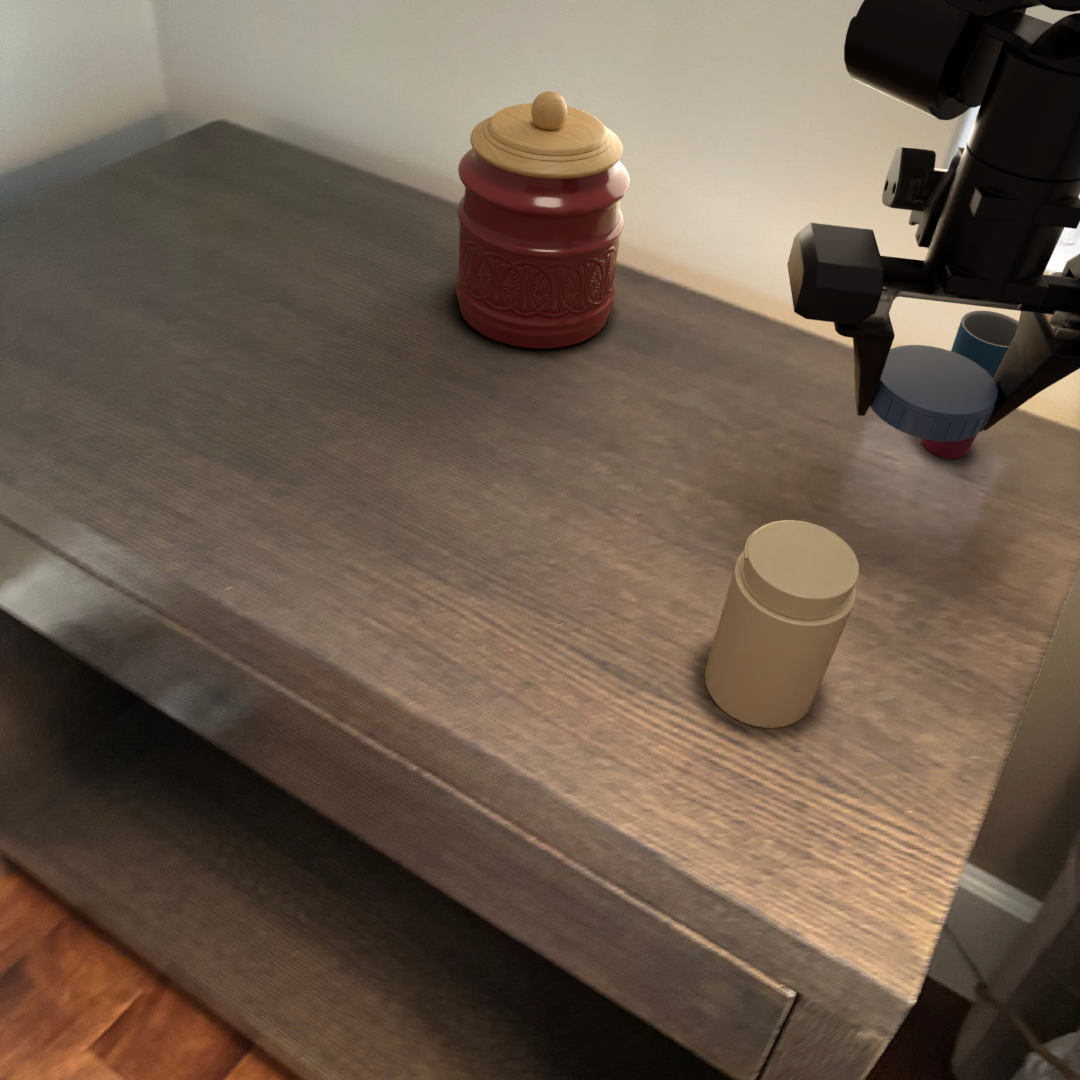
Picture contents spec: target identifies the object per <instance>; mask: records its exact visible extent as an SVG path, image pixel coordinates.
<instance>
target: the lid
mask: <svg viewBox="0 0 1080 1080" xmlns="http://www.w3.org/2000/svg"><path fill="white" fill-rule="evenodd" d="M997 396H998V389H997V386H996V384H995V381H994V380H993V378H992V377H991V376H990V375H989V374H988V373H987V372H986V371H985V370H984V369H983V368H982V367H981V366H979V365H978V364H976V363H975V362H973V361H971V360H970V359H968V358H966V357H964V356H962V355H959V354H957V353H954V352H952V351H951V350H948V349H945V348H941V347H937V346H932V345H925V344H924V345H923V344H905V345H897V346H894V347H891V349H890V352H889V355H888V358H887V360H886V363H885V366H884V369H883V372H882V375H881V378H880V381H879V384H878V387H877V390H876V393H875V396H874V399H873V402H872V404H871V405H870V407H869V408H871V410H872V411H873V413H874V414H876V416H878V418H880V419H881V420H882V421H883V422H884V423H886V424H888V425H889V426H890V427H892V428H894V429H896V430H898V431H900V432H902V433H904V434H906V435H909V436H913V437H916V438H919V439H921V440H922V439H927V440H932V441H942V442H953V441H961V440H965V439H968V438H971V437H973V436H975V435H976V434H977V435H978V434H979V433H982V432H983V428H984V426H985V424H986V425H987V423H988V421H989V418H990V416H991V414H992V412H993V410H994V408H995V405H994V404H995V402H996V400H997Z"/></svg>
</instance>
